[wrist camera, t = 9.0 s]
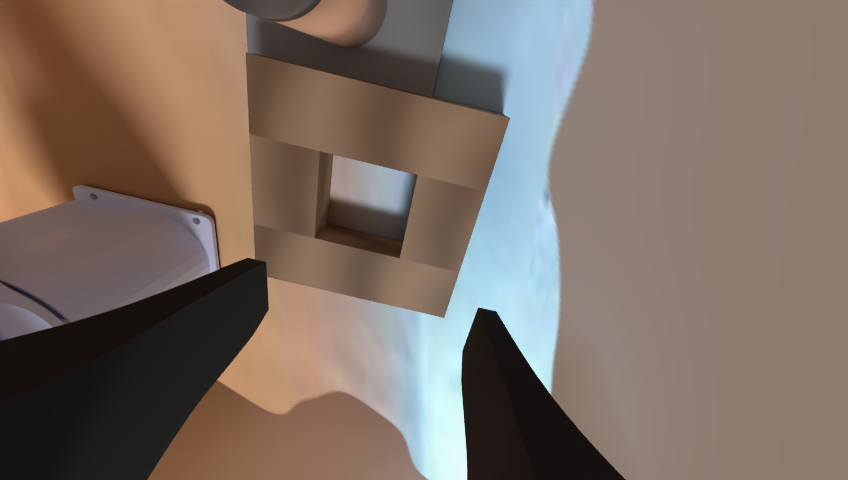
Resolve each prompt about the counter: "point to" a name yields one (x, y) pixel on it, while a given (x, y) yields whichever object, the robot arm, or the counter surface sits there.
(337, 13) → the spice jar
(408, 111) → the tan flat piece
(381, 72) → the coaster
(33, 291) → the robot arm
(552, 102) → the counter surface
